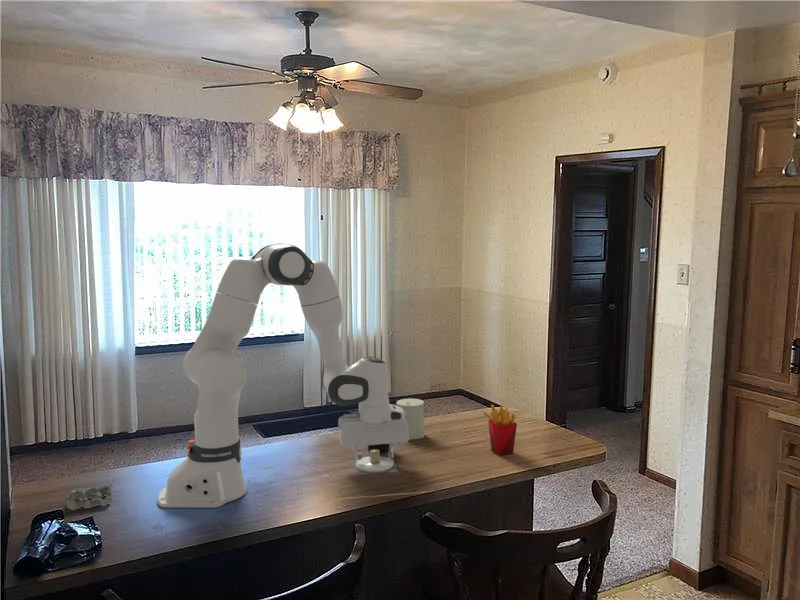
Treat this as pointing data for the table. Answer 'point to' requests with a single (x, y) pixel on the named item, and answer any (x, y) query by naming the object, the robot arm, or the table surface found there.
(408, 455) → the table surface
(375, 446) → the dark brown two-tone container
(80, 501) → the egg carton
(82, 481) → the table surface
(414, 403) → the can
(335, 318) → the robot arm
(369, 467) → the lid
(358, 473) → the mat
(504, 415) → the french fries
